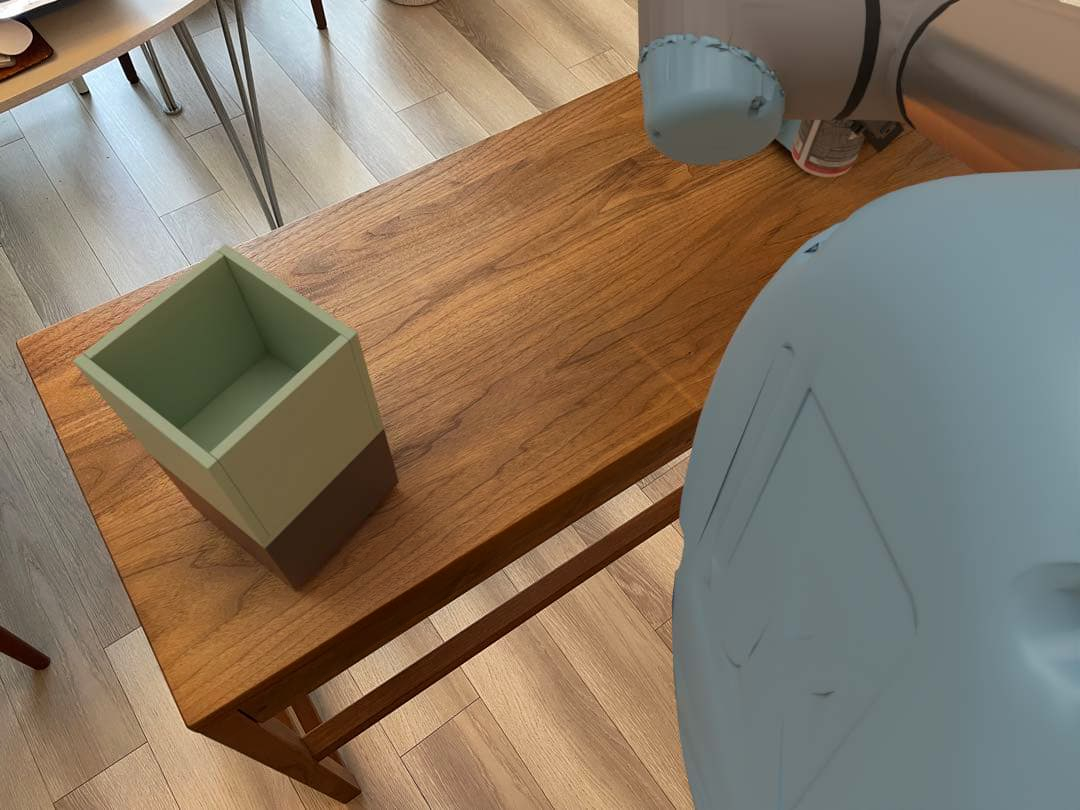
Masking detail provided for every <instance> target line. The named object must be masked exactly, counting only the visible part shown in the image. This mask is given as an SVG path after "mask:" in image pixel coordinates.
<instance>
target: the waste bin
mask: <svg viewBox="0 0 1080 810" xmlns="http://www.w3.org/2000/svg"><path fill="white" fill-rule="evenodd" d="M72 363H73V364H74V365H75V366H76V367H77V368H78V370H79V371H80V372H81V373H82V375H83V376H84V377H85V378H86V379H87V381H88V383H90V384H91V386H92V387H93V388H94V389H95V390H96V392H97V393H98V394H99V395H100V396H101V397H102V399H103V400H104V402H106V404H107V405H108V406H109V407H110V408H111V410H112V411H113V412H114V413H115V414H116V416H117V417H118V418H119V419H120V421H121V422H122V423H123V424H124V425H125V426H126V428H127V429H128V430H129V431H130V433H131V434H132V435H133V436H134V437H135V439H136V440H137V441H138V442H139V443H140V445H141V446H142V447H143V448H144V450H145V451H146V452H147V453H148V454H149V456H150V457H151V458H152V460H154V462H155V463H156V464H157V465H158V466H159V467H160V469H161V470H162V471H163V473H164V474H165V475H166V476H167V477H168V478H169V480H170V481H171V482H172V483H173V485H174V486H175V487H176V488H177V490H179V492H180V493H181V494H182V495H183V497H185V500H187V501H188V502H189V504H190V505H191V506H192V507H193V508H194V509H195V510H196V511H197V512H198V513H200V515H202V516H203V517H205V518H206V519H207V520H208V521H209V522H211V523H212V524H213V525H214V526H216V527H217V528H218V529H219V530H220V531H221V532H222V533H224V534H225V535H226V536H227V537H229V538H230V539H231V540H232V541H234V542H235V543H236V544H237V545H239V546H240V547H241V548H242V549H243V550H244V551H246V552H247V553H248V554H249V555H251V556H252V557H253V558H254V559H256V560H257V561H258V562H259V563H260V564H261V565H262V566H264V567H265V568H266V569H268V570H269V571H270V572H271V573H273V574H274V575H275V576H276V577H277V578H278V579H280V580H281V581H283V583H284V584H286V585H287V586H288V587H289V588H291V589H292V590H293V591H294V592H296V593H297V592H298V591H299V590H300V589H301V588H302V587H303V586H304V584H305V583H306V582H307V581H308V580H309V579H310V578H311V577H312V576H313V575H314V574H315V573H316V572H317V571H318V569H320V568H321V566H322V565H323V564H324V563H325V562H326V561H327V560H328V559H329V558H330V557H331V555H333V553H334V552H335V551H336V550H337V549H338V548H339V547H340V546H341V545H342V544H343V543H344V542H345V541H346V540H347V538H348V537H349V536H350V535H351V534H352V533H353V532H354V531H355V530H356V529H357V528H358V527H359V526H360V525H361V524H362V523H363V522H364V521H365V519H366V518H367V517H369V515H370V514H371V513H372V512H373V511H374V510H375V509H376V508H377V507H378V505H380V503H382V502H383V500H384V499H385V498H386V497H387V496H388V495H389V494H390V493H391V492H392V491H393V490H394V489H395V488H396V487H397V486H398V484H400V481H399V477H398V474H397V470H396V467H395V463H394V459H393V456H392V452H391V448H390V446H389V441H388V437H387V434H386V429H385V427H384V423H383V419H382V417H381V416H382V415H381V413H380V408H379V406H378V405H379V404H378V402H377V398H376V395H375V390H374V388H373V384H372V380H371V376H370V373H369V371H368V369H369V368H368V366H367V362H366V359H365V355H364V351H363V348H362V344H361V341H360V337H359V334H358V332H357V331H356V330H355V329H353V328H351V327H350V326H348V325H347V324H345V323H344V322H343V321H341V320H339V319H338V318H336V316H333V315H332V314H330V313H329V312H328V311H326V310H325V309H323V308H322V307H320V306H318V305H317V304H316V303H314V302H313V301H311V300H310V299H308V298H307V297H305V296H303V295H302V294H301V293H299V292H297V291H296V290H295V289H294V288H293V287H290V286H289V285H287V284H286V283H284V282H283V281H281V280H280V279H279V278H277V277H276V276H274V275H273V274H271V273H270V272H268V271H267V270H265V269H263V268H262V267H260V266H259V265H257V264H256V263H255V262H254V261H251V260H250V259H249V258H247V257H246V256H244V255H242V254H241V253H240V252H238V251H236V250H235V249H233V248H232V247H231V246H229V245H228V244H223V245H222V246H221V247H219V248H218V249H217V250H215V251H213V253H211V254H210V255H209V256H207V257H206V258H205V259H203V260H202V261H201V262H200V263H198V264H197V265H195V266H194V267H193V268H192V269H191V270H189V271H188V272H186V273H185V274H184V275H183V276H181V277H180V278H179V279H177V280H176V281H175V282H173V283H172V284H170V286H168V287H167V288H166V289H164V290H163V291H162V292H160V293H159V294H158V295H156V296H155V297H154V298H152V299H151V300H150V301H149V302H148V303H146V304H145V305H144V306H143V307H141V308H139V309H138V310H137V311H136V312H134V313H133V314H132V315H130V316H129V317H128V318H126V319H125V320H124V321H123V322H121V323H119V325H117V326H116V327H115V328H114V329H112V330H111V331H109V332H108V333H107V334H106V335H104V336H103V337H102V338H100V339H99V340H98V341H96V342H95V343H93V344H92V345H91V346H90V347H89V348H87V349H86V350H84V351H83V352H82V353H80V354H79V355H78V356H77V357H75V358H74V359H73V360H72Z"/></svg>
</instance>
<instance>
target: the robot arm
mask: <svg viewBox="0 0 1080 810" xmlns="http://www.w3.org/2000/svg"><path fill="white" fill-rule="evenodd" d="M637 26H638V29H637V30H638V59H637V73H636V74H637V75H636V76H637V78H638V79H639V80H640V88H641V98H642V110H643V123H644V131H645V135H646V136H647V139H648V142H649V143H650V145H651V146H652V147H653V148H654V149H655V150H656V151H657V152H658V153H660V154H661V155H662V156H664V157H666V158H667V159H670V160H672V161H675V162H677V163H681V164H686V165H693V166H715V165H718V164H720V163H722V162H724V161H737V162H738V161H740V160H744V159H746V158H749V157H752V156H754V155H755V154H757V153H759V152H762V151H763V150H764V149H765V148H766V147H767V146H770V144H771V143H772V142H773V141H774V140H776V139H775V138H776V136H777V134H778V132H779V130H780V128H781V124H782V120H831V119H832V120H852V121H853V122H854V123H853V124H852V125H851V126H850V127H849V128H850V129H851V130H852V131H853V132H854V133H855V134H856V135H857V136H859V135H860V134H861V133H862V134H863V135H864V136H865V140H867V141H868V143H869V144H870V146H871V147H872V148H873V149H874V150H875V151H876V152H877V153H878V154H881V152H882V151H884V150H885V149H886V148H887V147H888V146H889V145H890V144H892V142H893V141H894V140H896V139H897V138H898V137H899V136H900V135H901V134H902V133H903V132H904V131H905V130H906V129H905V128H904V125H905V126H907V127H908V128H909V129H910V130H912V131H914V132H916V133H917V134H919V135H921V136H923V137H924V138H926V139H928V140H929V141H930V142H931V143H933V144H934V145H936V146H937V147H939V148H940V149H941V150H943V151H945V152H946V153H947V154H949V155H951V156H952V157H953V158H955V159H956V160H958V161H959V162H960V163H962V164H964V165H965V166H966V167H968V168H969V169H971V170H972V171H974V172H975V173H973V174H963V175H953V176H946V177H941V178H938V179H932V180H928V181H924V182H920V183H917V184H913V185H909V186H905V187H902V188H899V189H897V190H896V189H895V190H894V191H890V192H888V193H885V194H883V195H881V196H879V197H877V198H875V199H873V200H871V201H869V202H867V203H866V204H864V205H862V206H861V207H859V208H858V209H856V210H855V211H854V212H852V214H850V215H849V216H848V217H847V218H845V220H842V221H840V222H837V223H835V224H834V225H831V226H830V227H827V229H824V230H823V231H821V232H820V233H818V234H816V235H814V236H813V237H810V238H809V239H808V240H807V241H806V242H805V243H803V244H802V245H801V246H800V247H799V248H798V249H797V250H796V251H795V252H794V253H793V254H792V255H791V256H790V257H788V259H787V260H786V261H785V262H784V263H783V264H782V265H781V267H780V268H779V269H778V270H777V271H776V272H775V274H773V276H772V277H771V278H770V280H768V282H767V283H766V284H765V286H764V287H763V288H762V289H761V290H760V292H758V294H757V296H756V297H755V299H754V300H753V301H752V303H751V304H750V306H749V308H748V309H747V311H746V312H745V314H744V316H743V317H742V319H741V321H740V322H739V324H738V325H737V327H736V329H735V331H734V333H733V334H732V337H731V339H730V340H729V341H728V344H727V346H726V348H725V350H724V353H723V355H722V357H721V359H720V362H719V364H718V367H717V369H716V371H715V373H714V375H713V379H712V381H711V384H710V386H709V390H708V393H707V396H706V398H705V401H704V403H703V406H702V409H701V412H700V415H699V419H698V422H697V425H696V430H695V434H694V436H693V442H692V446H691V450H690V454H689V458H688V463H687V467H686V472H685V476H684V477H685V478H684V482H683V488H682V492H681V493H682V494H681V499H680V506H679V515H678V522H679V526H680V528H681V532H682V534H683V548H682V553H681V558H680V559H681V560H680V562H679V566H678V568H677V569H676V570H675V571H674V578H673V588H672V595H671V596H672V597H671V639H672V640H671V641H672V642H671V643H672V644H671V645H672V669H673V670H672V671H673V684H674V694H675V706H676V717H677V726H678V733H679V740H680V746H681V753H682V758H683V763H684V764H683V765H684V768H685V773H686V778H687V779H686V780H687V782H688V787H689V791H690V795H691V800H692V804H693V807H694V810H1080V6H1079V5H1075V4H1071V3H1067V2H1063V1H1060V0H637Z"/></svg>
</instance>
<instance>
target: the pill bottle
mask: <svg viewBox="0 0 1080 810" xmlns="http://www.w3.org/2000/svg"><path fill="white" fill-rule="evenodd" d="M853 123H854V122H853V121H852V120H832V119H831V120H802V121H801V124H800V126H799V129H798V132H797V135H796V137H795V140H794V143H793V146H792V152H791V155H792V159H793V160H794V162H795V163H796V164H797V166H798V167H799V168H800V169H802V170H803V171H804V172H806V173H808V174H810V175H812V176H813V175H814V176H816V177H822V178H836V177H839V176H842V175H844V174H846V173H848V171H850V169H851V168H853V165H854V164H855V162H856V160H857V157H858V155H859V153H860V150H861V148H862V146H863V144H864V142H865V140H866V137H865V136H864V135H863V134H862V133H861V134H860V135H859V136H857V135H856V134H855V133H854V132H853V131H852V130H851V129H850V128H849V127H850V126H851V125H852V124H853Z"/></svg>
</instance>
